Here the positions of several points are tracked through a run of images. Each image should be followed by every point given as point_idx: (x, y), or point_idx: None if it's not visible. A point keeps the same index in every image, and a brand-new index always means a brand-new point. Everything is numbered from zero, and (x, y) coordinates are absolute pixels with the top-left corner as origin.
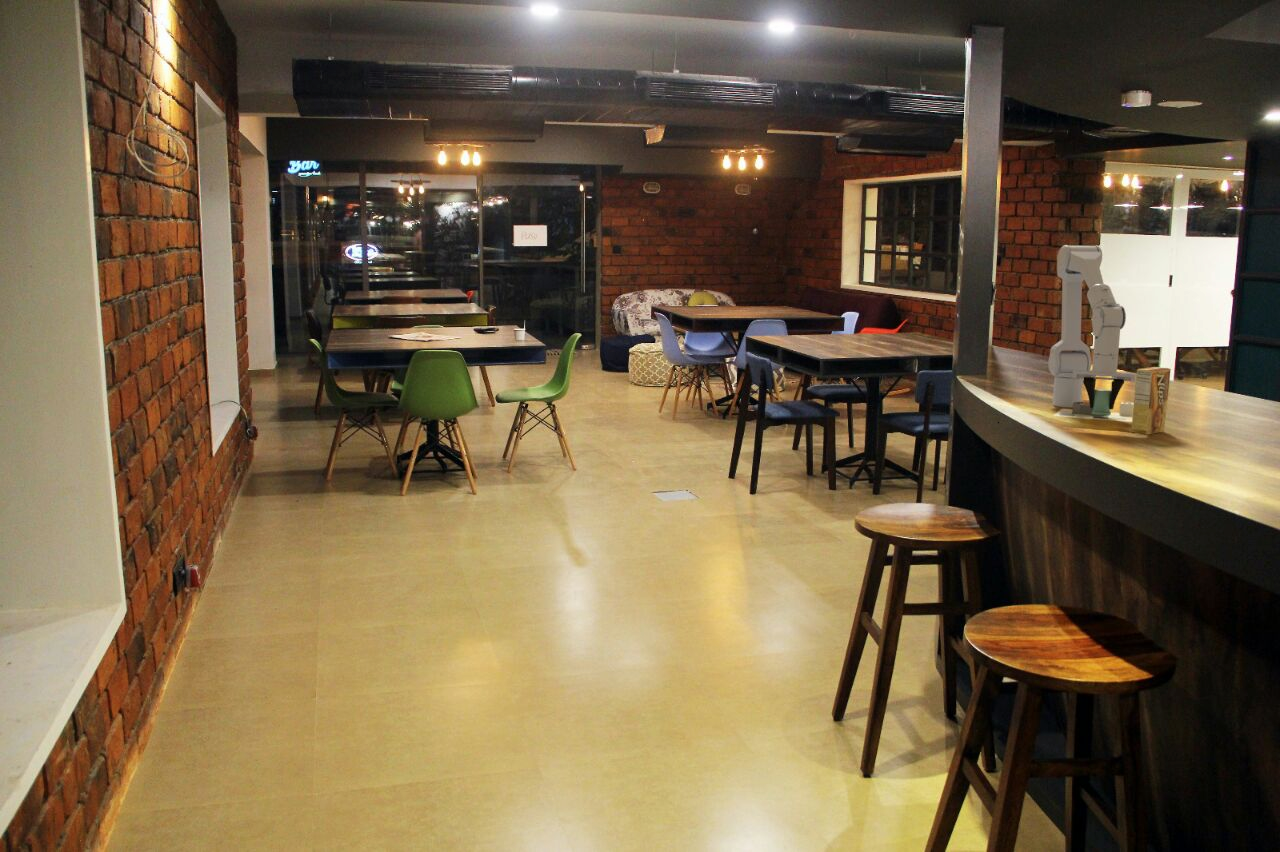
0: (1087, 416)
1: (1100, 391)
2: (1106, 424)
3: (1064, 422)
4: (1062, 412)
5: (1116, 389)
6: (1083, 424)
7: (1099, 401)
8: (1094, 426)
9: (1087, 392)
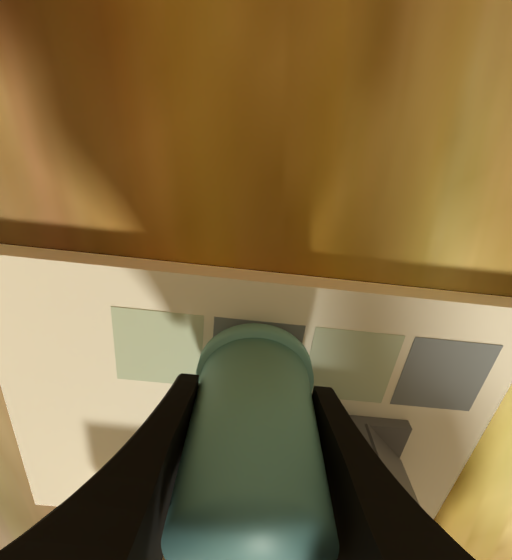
0: (330, 364)
1: (275, 495)
2: (218, 253)
3: (480, 218)
4: (449, 445)
5: (73, 519)
6: (363, 182)
7: (274, 400)
8: (293, 114)
9: (407, 493)
